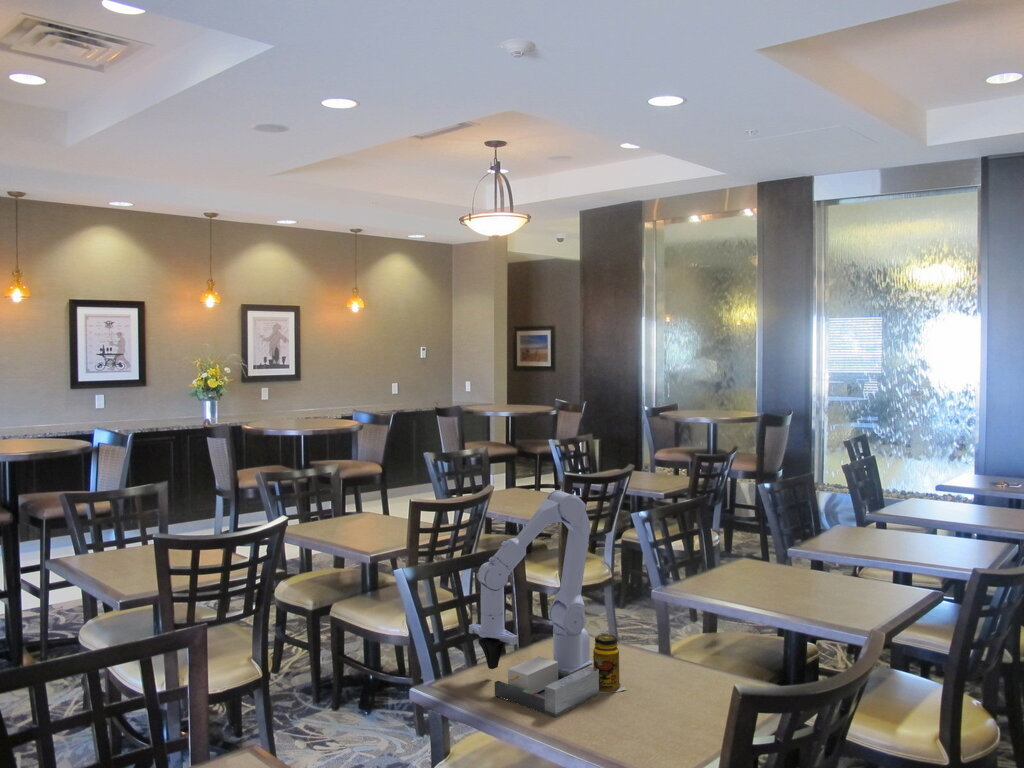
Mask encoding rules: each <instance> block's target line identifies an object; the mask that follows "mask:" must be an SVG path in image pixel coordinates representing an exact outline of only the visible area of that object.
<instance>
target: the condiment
mask: <svg viewBox="0 0 1024 768" xmlns="http://www.w3.org/2000/svg"><path fill="white" fill-rule="evenodd" d="M592 661H593V663H592V665H593V667H592V668H596V669H599V695H601V694H611V693H617V692H621V691H626V690H627V691H628V689H627V688H626V687H625V686H624V685H622V683H620V650H619V647H618V638H617V637H616V635H612V634H607V633H605V634H599V635H597V636H595V638H594V648H593V656H592Z"/></svg>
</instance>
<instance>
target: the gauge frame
mask: <svg viewBox="0 0 1024 768" xmlns="http://www.w3.org/2000/svg"><path fill="white" fill-rule="evenodd" d="M599 695H600V694H599V669H596V668H593V667H591V666H589V665H587V666H585V667H583V668H581V669H578V670H576V671H574V672H572V673H570V672H566V671H563V670H560V669H558V681H556V682H553V683H551V684H549V685H547V686H545V689H544V690H542V691H540V692H537V693H536V692H533V691H530V690H528V689H525V690H524V689H521V688H518V687H515V686H512V685H509V684H508V683H506V682H502V681H500V680H496V681H494V696H495V697H496V696H498V697H497V698H499V697H502V698H505V699H508V700H510V701H513V702H515V703H514V704H516V703H518V704H517V705H519V704H520V705H519V706H522V705H523V706H522V707H524V706H526V707H525V708H527V707H529V708H528V709H530V708H532V709H531V710H533V709H534V710H533V711H536V710H537V711H536V712H539V713H541V714H545V715H547V716H550V717H553V718H557V717H559V716H561V715H563V714H565V713H567V712H569V711H572V710H573V709H575V708H577V707H579V706H581V705H583V704H584V703H586V701H587V702H589V701H591V700H592V699H594V698H597V697H598V696H599ZM502 698H501V699H502ZM505 699H504V700H505ZM508 700H507V701H508ZM510 701H509V702H510ZM513 702H512V703H513ZM582 703H583V704H582Z"/></svg>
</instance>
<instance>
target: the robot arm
mask: <svg viewBox="0 0 1024 768" xmlns="http://www.w3.org/2000/svg"><path fill="white" fill-rule="evenodd" d="M586 509H587V505H586V503H585V502H584V501H583V500H582V499H581V498H580V497H579V496H578V495H575V494H571V493H567V492H565V491H563V490H561V489H560V490H559V489H555V490H553V491H550V493H549V494H548V495H547V497H546V498H545V499H543V500H542V501H541V503H540V504H539V507H538V509H537V510H536V511H535V513H534V514H533V515H532V516H531V518H530V519H529V521H527V523H526V524H525V526H524V527H523V528H522V529H521V530H520V532H519V533H517V534H518V535H517V536H516V537H513V538H508V539H507V540H503V541H502V542H501V544H500V545H501V547H500V548H499V549H498V550H497V551H496V552H495V554H494V555H493V556H490V557H489V558H488V561H486V562H484V563H482V564H481V566H480V567H479V569H478V571H477V572H476V578H477V580H478V581H479V583H480V624H478V623H471V624H469V625H468V633H469V634H476V635H478V636H479V637H480V638H481V639H478V644H479V646H480V648H481V649H482V651H483V654H484V657H485V660H486V664H487V667H488V669H490V670H495V669H497V668H498V667H499V662H500V658H501V655H502V652H503V649H504V648H505V646H506V644H509V646H515V645H518V644H519V643H518V641H519V640H518V635H516V634H514V633H512V632H510V631H509V630H507V629H506V628H505V593H504V592H505V588H504V587H505V586H506V585H507V583H508V580H509V575H510V573H511V572H512V571H513V570H514V569H515V568H516V567H517V565H518V564H519V563H520V562H521V561H522V560H523V559H524V558H525V556H526V555H527V547H528V546H529V545H530V544H531V543H532V541H533V540H535V538H537V537H538V535H540V534H541V532H542V531H543V530H544V529H545V528H546V527H548V525H551V524H559V523H563V524H564V525H565V527H566V528H567V530H568V532H567V536H566V546H565V552H564V560H563V565H562V571H561V580H560V586H559V590H558V591H557V593H555V595H554V598H553V599H554V600H553V602H552V604H551V605H550V607H549V610H548V616H549V619H550V621H551V622H552V623H553V628H552V636H553V637H552V645H553V647H552V648H553V649H552V654H553V657H552V660H554V661H557V662H558V669H560V670H563V671H566V672H570V673H575V672H577V671H579V670H581V669H584V668H586V667H588V666H589V665H591V664H593V662H594V660H591V659H590V658H591V655H590V654H591V651H590V650H591V649H590V647H591V646H590V645H591V644H590V643H591V641H590V640H591V639H590V634H589V633H588V631H587V630H586V628H585V626H586V624H587V617H586V614H585V608H586V607H585V602H584V599H583V597H582V589H583V588H582V587H583V581H584V575H585V568H586V567H585V566H586V562H587V561H586V560H587V553H588V548H589V547H588V546H589V540H590V532H591V522H590V519H589V516H588V513H587V510H586Z"/></svg>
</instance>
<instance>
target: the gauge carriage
mask: <svg viewBox="0 0 1024 768" xmlns="http://www.w3.org/2000/svg"><path fill="white" fill-rule="evenodd" d="M507 671H508V672H507V674H508V675H507V679H508V680H507V684H509V685H512V686H515V687H518V688H521V689H524V690H525V689H528V690H530V691H533V692H536V693H537V692H540V691H542V690H544V689H545V686H547V685H549V684H551V683H553V682H556V681H558V662H557V661H554V660H553V659H550V658H546V657H545V656H540V655H538V656H536V657H534V658H530V659H528V660H525V661H523V662H522V663H519V664H517V665H514V666H512V667H510V668H507Z"/></svg>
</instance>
